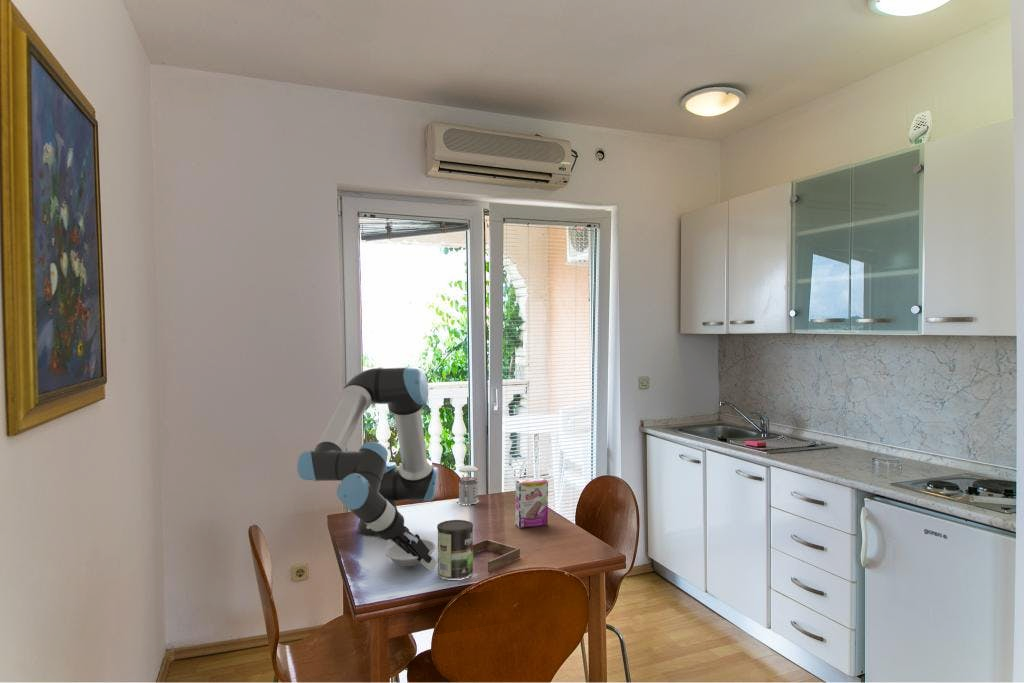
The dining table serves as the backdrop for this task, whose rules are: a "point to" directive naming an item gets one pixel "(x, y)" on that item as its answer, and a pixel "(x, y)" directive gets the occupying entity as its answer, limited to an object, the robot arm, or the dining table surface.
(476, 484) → the french press
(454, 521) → the coffee can
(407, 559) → the dish
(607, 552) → the dining table surface
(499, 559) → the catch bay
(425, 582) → the dining table surface
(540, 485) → the candy bar box
